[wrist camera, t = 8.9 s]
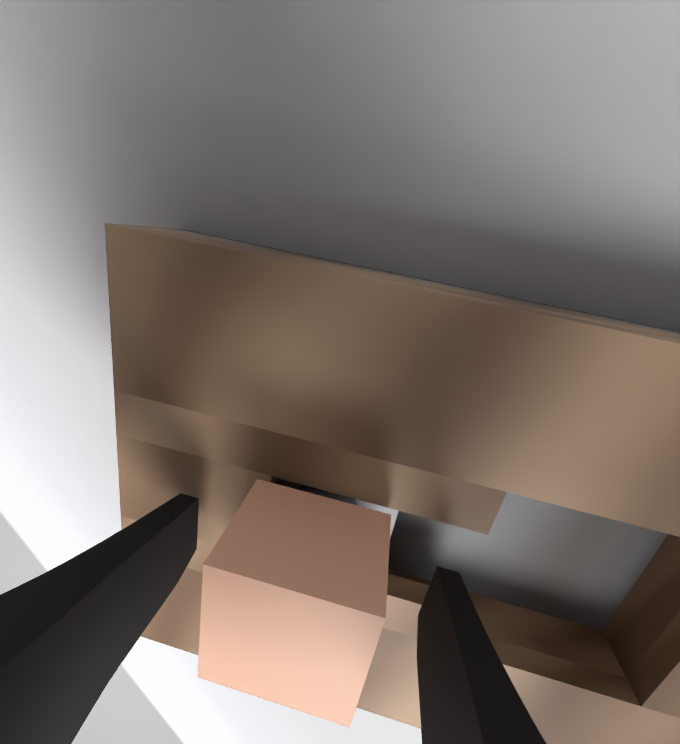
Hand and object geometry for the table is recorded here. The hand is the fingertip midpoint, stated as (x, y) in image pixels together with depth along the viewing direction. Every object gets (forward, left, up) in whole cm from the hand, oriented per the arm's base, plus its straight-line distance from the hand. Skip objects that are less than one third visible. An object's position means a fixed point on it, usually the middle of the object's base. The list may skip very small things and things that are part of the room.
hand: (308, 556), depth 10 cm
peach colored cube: (0, 0, -3) cm, 3 cm away
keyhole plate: (-3, 0, -4) cm, 5 cm away
